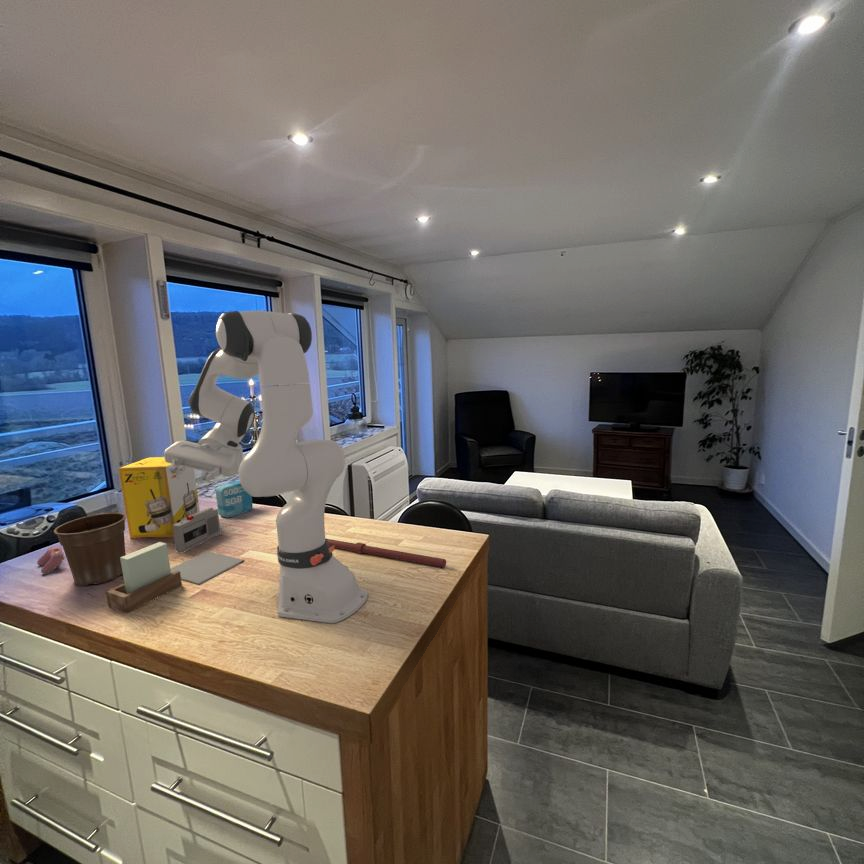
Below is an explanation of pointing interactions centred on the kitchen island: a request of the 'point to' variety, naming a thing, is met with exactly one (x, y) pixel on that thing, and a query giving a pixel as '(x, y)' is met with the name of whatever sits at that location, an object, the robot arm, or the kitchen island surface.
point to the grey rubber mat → (205, 567)
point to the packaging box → (157, 496)
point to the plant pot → (94, 547)
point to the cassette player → (196, 529)
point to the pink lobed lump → (51, 559)
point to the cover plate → (145, 566)
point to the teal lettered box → (232, 499)
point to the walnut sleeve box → (142, 593)
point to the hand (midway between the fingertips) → (188, 475)
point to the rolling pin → (387, 553)
